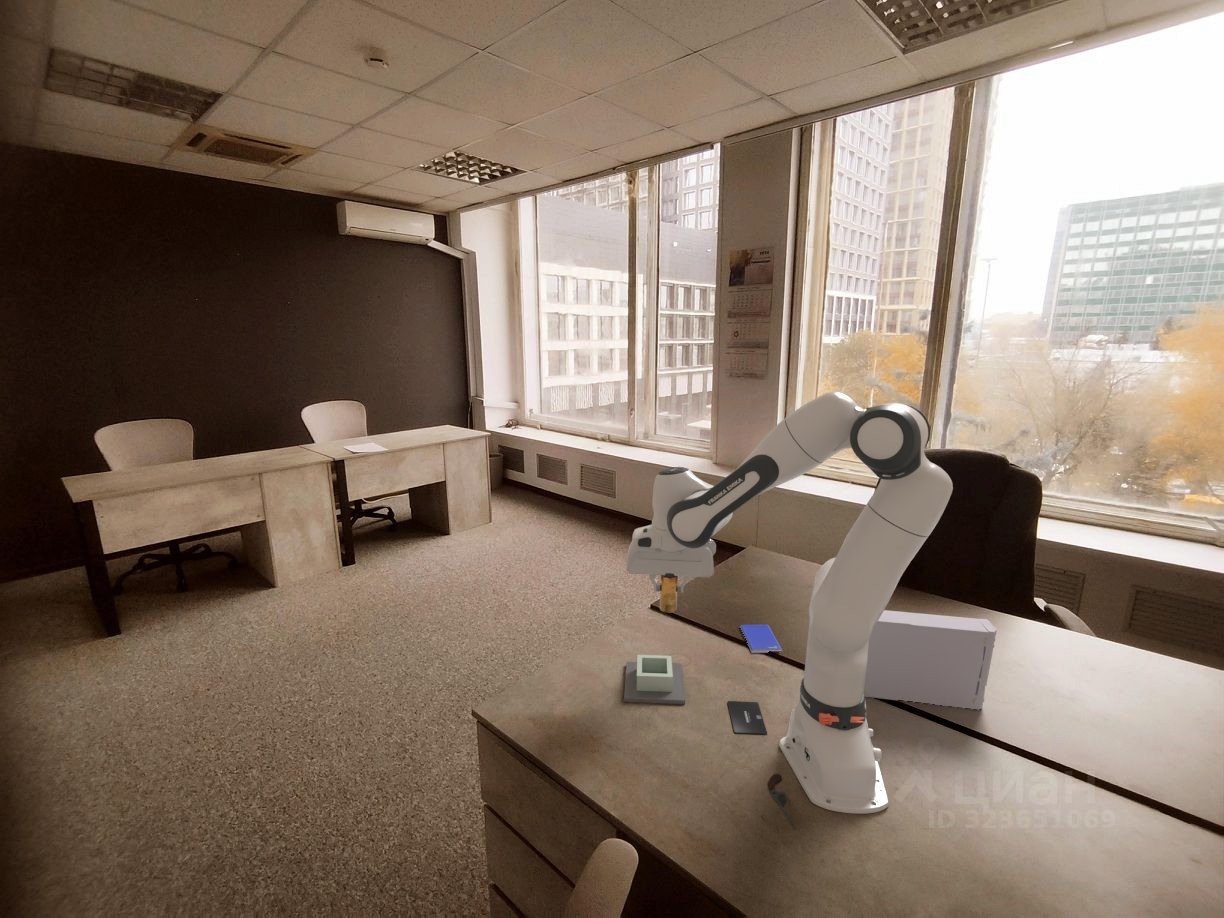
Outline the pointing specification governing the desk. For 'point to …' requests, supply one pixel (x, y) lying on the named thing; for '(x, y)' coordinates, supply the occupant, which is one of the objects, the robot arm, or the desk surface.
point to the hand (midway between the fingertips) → (668, 590)
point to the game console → (929, 659)
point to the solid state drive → (746, 718)
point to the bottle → (668, 593)
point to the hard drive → (760, 638)
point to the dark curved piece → (778, 794)
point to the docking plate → (654, 680)
